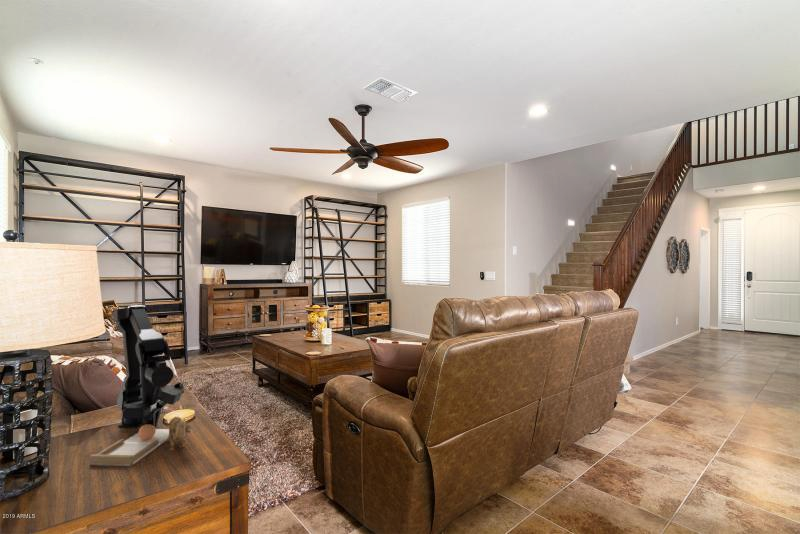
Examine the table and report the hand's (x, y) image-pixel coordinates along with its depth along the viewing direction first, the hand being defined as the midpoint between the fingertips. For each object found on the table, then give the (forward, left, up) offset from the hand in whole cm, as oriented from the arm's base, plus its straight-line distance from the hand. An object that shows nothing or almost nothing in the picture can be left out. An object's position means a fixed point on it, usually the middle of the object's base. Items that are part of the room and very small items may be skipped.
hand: (153, 428), depth 123 cm
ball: (0, -2, 0) cm, 3 cm away
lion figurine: (+10, -4, -3) cm, 11 cm away
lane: (0, -6, -3) cm, 7 cm away
